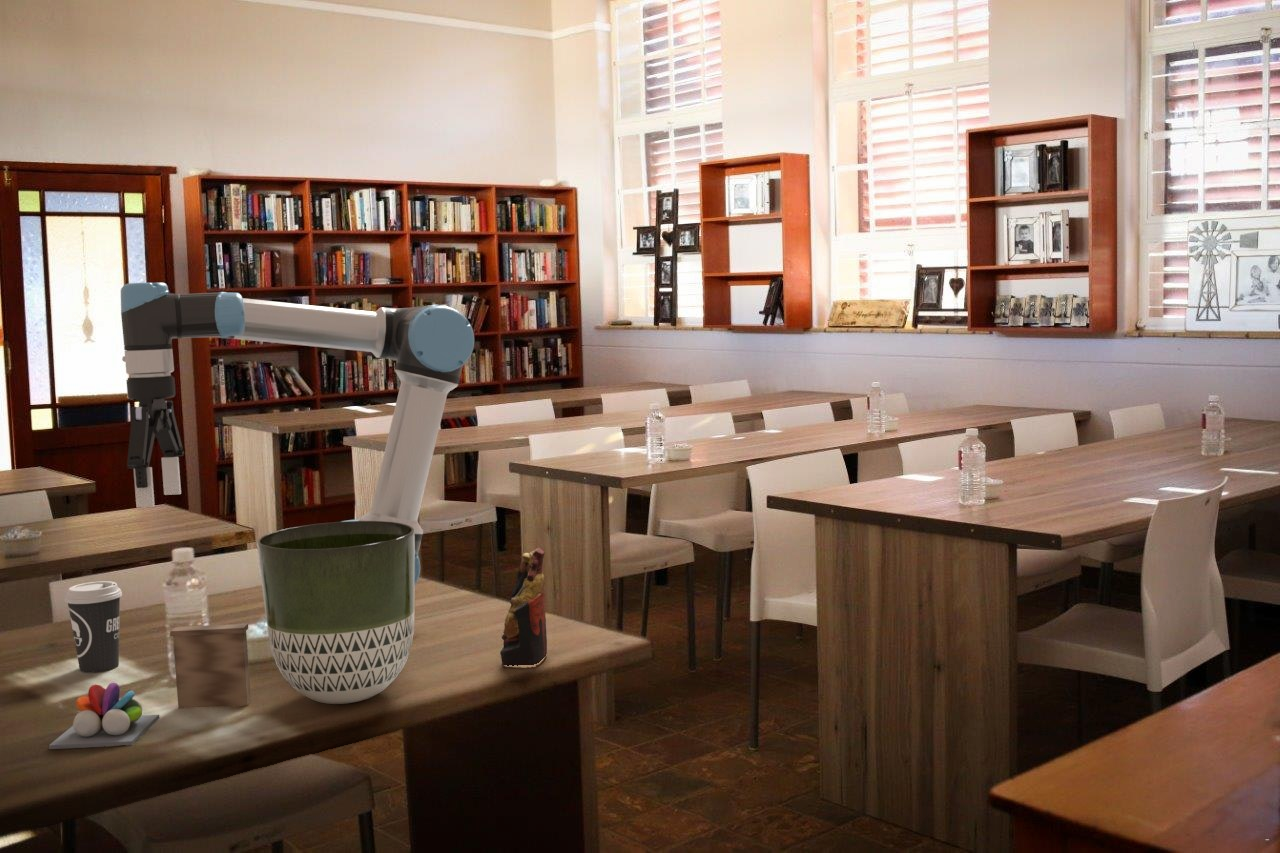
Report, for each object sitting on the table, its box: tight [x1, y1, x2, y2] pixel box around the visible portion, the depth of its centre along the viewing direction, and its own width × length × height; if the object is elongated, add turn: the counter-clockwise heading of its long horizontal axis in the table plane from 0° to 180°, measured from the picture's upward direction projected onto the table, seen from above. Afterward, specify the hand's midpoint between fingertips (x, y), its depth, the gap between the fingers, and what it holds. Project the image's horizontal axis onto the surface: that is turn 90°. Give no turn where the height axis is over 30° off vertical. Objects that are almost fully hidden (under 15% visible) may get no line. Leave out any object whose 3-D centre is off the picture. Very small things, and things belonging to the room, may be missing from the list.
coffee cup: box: [64, 580, 123, 674], centre depth 226 cm, size 10×10×15 cm
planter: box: [256, 520, 416, 705], centre depth 203 cm, size 24×24×27 cm
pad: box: [48, 714, 160, 750], centre depth 191 cm, size 12×12×1 cm
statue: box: [499, 547, 548, 666], centre depth 220 cm, size 12×8×20 cm, turn 168°
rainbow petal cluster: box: [72, 682, 143, 737], centre depth 190 cm, size 8×10×7 cm
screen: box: [169, 623, 252, 710], centre depth 202 cm, size 12×3×13 cm, turn 93°
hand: (159, 500), depth 213 cm, fingers open, 13 cm apart
